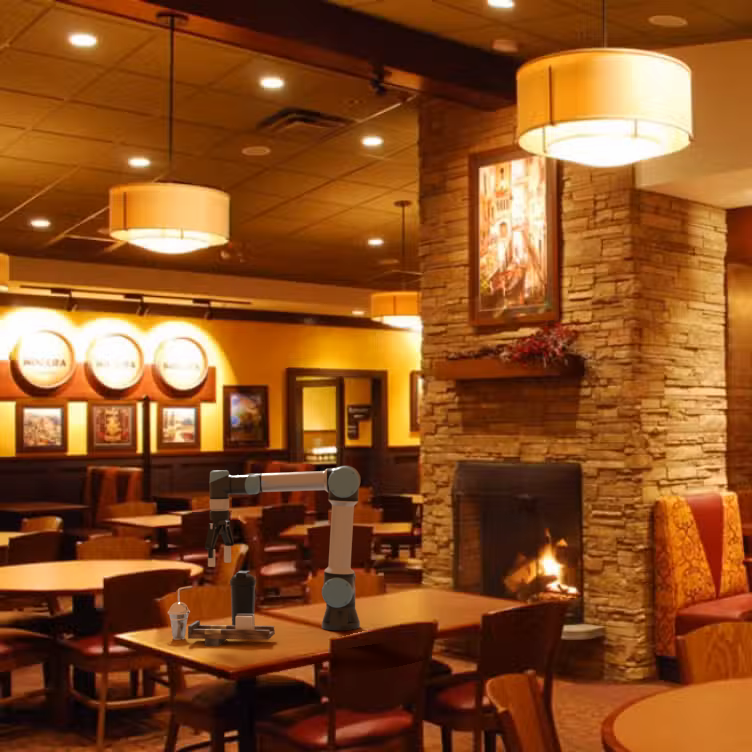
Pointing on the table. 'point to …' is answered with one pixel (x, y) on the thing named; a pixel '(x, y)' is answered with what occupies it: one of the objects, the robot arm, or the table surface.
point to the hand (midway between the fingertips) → (219, 564)
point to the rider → (245, 622)
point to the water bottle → (242, 594)
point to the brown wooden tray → (227, 633)
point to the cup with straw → (179, 617)
